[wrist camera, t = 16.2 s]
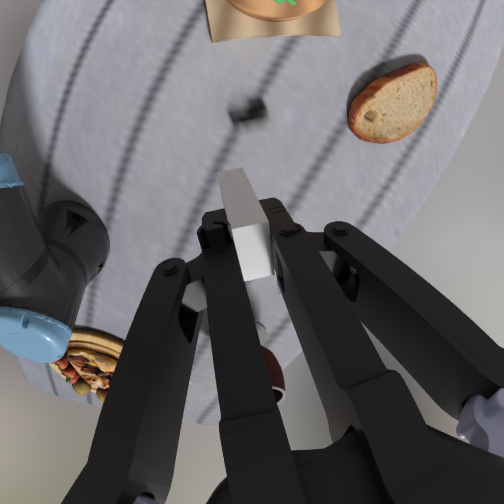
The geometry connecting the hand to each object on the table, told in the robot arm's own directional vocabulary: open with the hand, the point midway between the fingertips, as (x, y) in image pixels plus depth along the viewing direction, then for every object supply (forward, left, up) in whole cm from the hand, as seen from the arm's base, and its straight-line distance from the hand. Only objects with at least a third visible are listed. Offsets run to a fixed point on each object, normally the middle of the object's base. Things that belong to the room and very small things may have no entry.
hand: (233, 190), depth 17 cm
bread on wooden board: (+11, +21, -24) cm, 34 cm away
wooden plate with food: (-43, -49, -25) cm, 70 cm away
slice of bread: (+31, +2, -25) cm, 40 cm away
